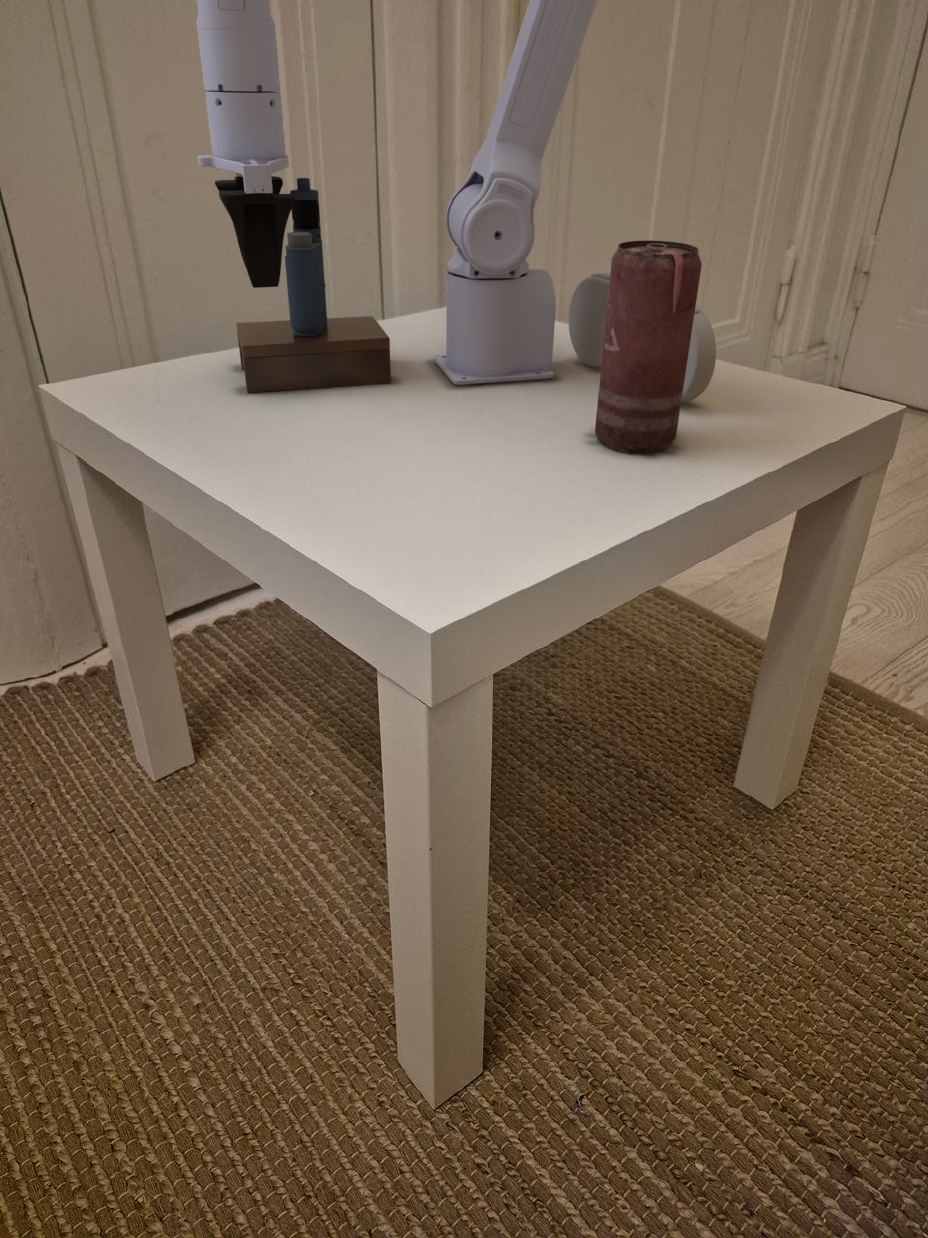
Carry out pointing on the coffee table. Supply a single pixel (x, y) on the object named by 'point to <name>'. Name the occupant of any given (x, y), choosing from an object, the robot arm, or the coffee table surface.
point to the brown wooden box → (314, 355)
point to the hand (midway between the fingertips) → (261, 276)
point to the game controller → (590, 330)
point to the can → (646, 344)
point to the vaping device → (305, 264)
